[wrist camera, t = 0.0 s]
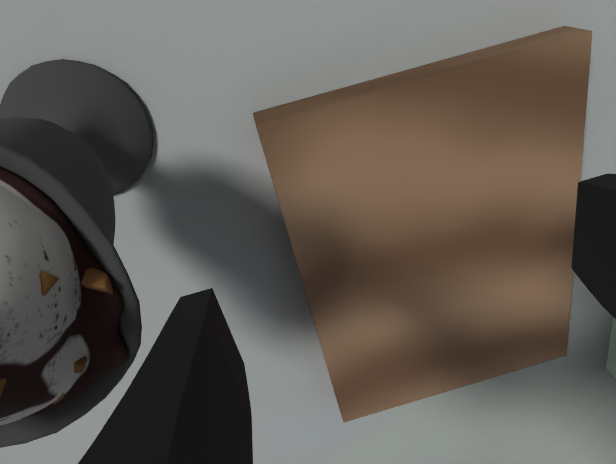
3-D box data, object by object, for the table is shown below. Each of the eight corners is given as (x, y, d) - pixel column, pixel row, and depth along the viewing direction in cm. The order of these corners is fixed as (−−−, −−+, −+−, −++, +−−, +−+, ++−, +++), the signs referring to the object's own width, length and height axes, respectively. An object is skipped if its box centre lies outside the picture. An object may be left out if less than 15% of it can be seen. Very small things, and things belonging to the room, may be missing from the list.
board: (549, 335, 26) (566, 355, 25) (337, 399, 26) (343, 422, 24) (564, 26, 18) (592, 30, 16) (252, 113, 17) (255, 124, 16)
